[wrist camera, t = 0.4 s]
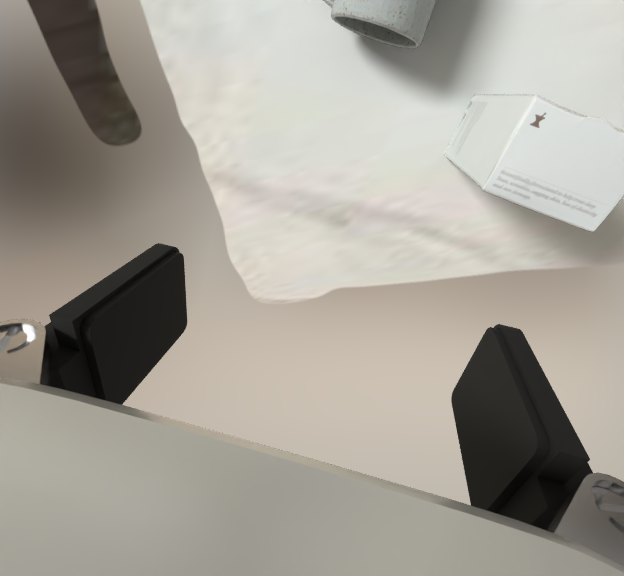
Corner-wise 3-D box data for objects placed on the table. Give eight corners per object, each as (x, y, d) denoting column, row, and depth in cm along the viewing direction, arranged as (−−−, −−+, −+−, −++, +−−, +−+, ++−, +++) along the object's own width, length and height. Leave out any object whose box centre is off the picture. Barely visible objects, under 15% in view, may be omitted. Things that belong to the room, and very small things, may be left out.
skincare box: (442, 154, 35) (470, 192, 22) (475, 89, 31) (531, 90, 19) (519, 184, 35) (592, 240, 22) (560, 121, 31) (673, 145, 19)
